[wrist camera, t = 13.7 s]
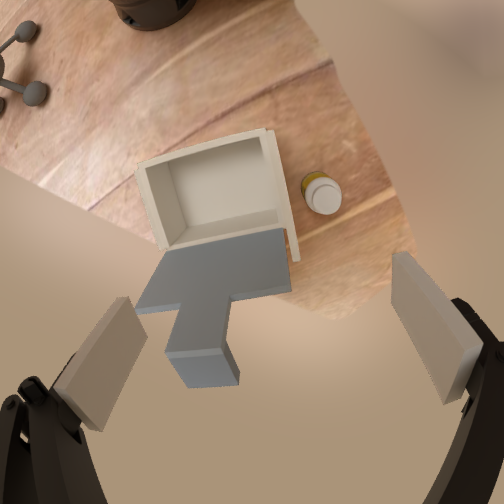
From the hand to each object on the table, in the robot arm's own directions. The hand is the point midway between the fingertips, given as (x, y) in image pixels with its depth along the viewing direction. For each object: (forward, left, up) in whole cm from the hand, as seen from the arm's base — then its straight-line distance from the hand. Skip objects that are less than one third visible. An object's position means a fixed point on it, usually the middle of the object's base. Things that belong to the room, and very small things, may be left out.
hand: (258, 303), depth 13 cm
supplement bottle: (+3, +8, -36) cm, 37 cm away
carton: (-1, -7, -36) cm, 37 cm away
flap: (+6, -7, -15) cm, 18 cm away
